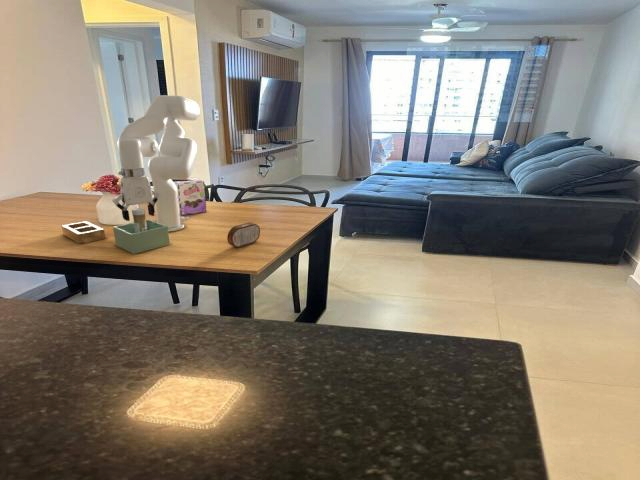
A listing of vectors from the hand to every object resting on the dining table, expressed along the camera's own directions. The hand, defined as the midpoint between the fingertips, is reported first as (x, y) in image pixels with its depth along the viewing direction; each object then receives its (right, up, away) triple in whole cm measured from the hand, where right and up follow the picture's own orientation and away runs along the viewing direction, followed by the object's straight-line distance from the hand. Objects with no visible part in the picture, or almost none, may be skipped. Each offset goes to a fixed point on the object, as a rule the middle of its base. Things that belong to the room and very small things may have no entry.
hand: (139, 217), depth 146 cm
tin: (+39, -11, +6) cm, 41 cm away
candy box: (+3, +5, +51) cm, 51 cm away
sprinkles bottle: (0, -10, +3) cm, 10 cm away
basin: (0, -10, +3) cm, 11 cm away
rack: (-28, -7, +11) cm, 31 cm away
